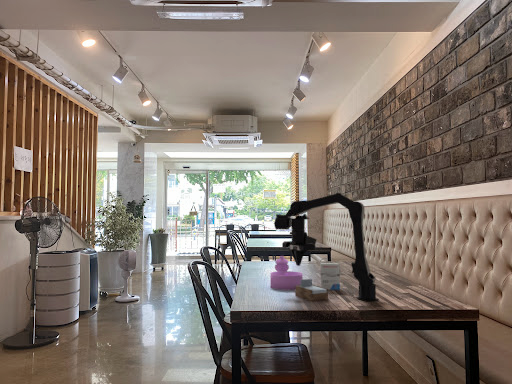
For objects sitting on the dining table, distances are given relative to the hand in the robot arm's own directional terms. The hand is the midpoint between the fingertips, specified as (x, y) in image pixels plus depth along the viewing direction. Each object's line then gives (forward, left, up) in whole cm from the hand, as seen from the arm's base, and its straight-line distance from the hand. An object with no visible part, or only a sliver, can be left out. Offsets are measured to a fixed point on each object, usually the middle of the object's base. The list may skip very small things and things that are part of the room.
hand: (298, 265), depth 165 cm
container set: (+21, -5, -12) cm, 25 cm away
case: (-10, 0, -12) cm, 16 cm away
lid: (-11, 0, -9) cm, 14 cm away
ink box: (+3, -19, -12) cm, 23 cm away
